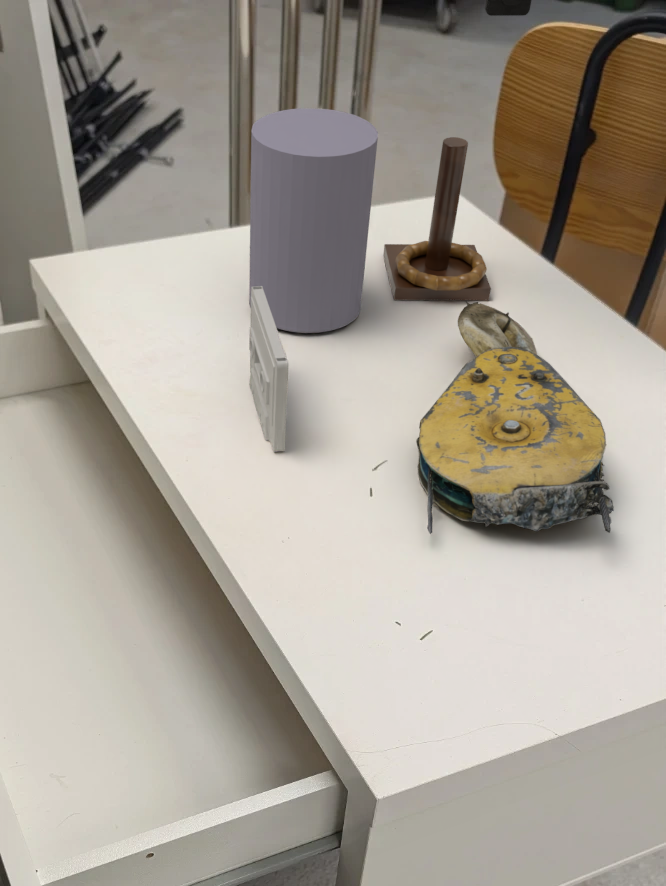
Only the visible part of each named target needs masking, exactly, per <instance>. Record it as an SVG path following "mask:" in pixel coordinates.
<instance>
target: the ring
mask: <svg viewBox="0 0 666 886" xmlns="http://www.w3.org/2000/svg"><path fill="white" fill-rule="evenodd" d="M465 245H466V244H461V243H457V242H452V245H451V251H450V256H452V257H456V258H460V259H462V260H463V261H465V262H467V263H468V264H470V265H471V266H472V271H471V272H469V273H466V274H463V275H460V276H435V275H431V274H427V273H423V272H420V271H418V270H417V269H415V268H414V267H412V266H411V265H410V263H409V261H410V260H411V259H412V258H415V257H419V256H422V255H426V254H427V247H428V240H423V241H420V242H416V243H413V244H412V245H409V246H406V247H405V248H404V249H403V250H402V251H401V252H400V253H399V255H398V256H397V257H396V265H397V269H398V272H399V274H400V275H401V276H402V277H403V278H405V279H406V280H408V281H409V282H411V283H412V284H414V285H417V286H420V287H424V288H428V289H432V290H461V289H464V288H467V287H470V286H474V285H476V284H477V283H478V282H479V281H480V280H481V279H482V277H483V276H484V275H485V274H486V275H487V270H488V268H487V265H486V262H485V260H484V258H483V256H482V255H481V254H480V253H479V252H478V251H477V252H475V251H474V250H472V249H470V248H469V247H467V246H465Z"/></svg>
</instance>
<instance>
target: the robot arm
mask: <svg viewBox="0 0 666 886" xmlns="http://www.w3.org/2000/svg"><path fill="white" fill-rule="evenodd" d="M531 5H532V0H485V6H484V9H485V12H486V14H487V15H488V16H491V17H493V16H495V17H496V16H499V17H500V16H501V17H502V16H504V17H505V16H506V17H507V16H508V17H509V16H511V17H513V16H526V15H528V14H529V13H530V10H531Z"/></svg>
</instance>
